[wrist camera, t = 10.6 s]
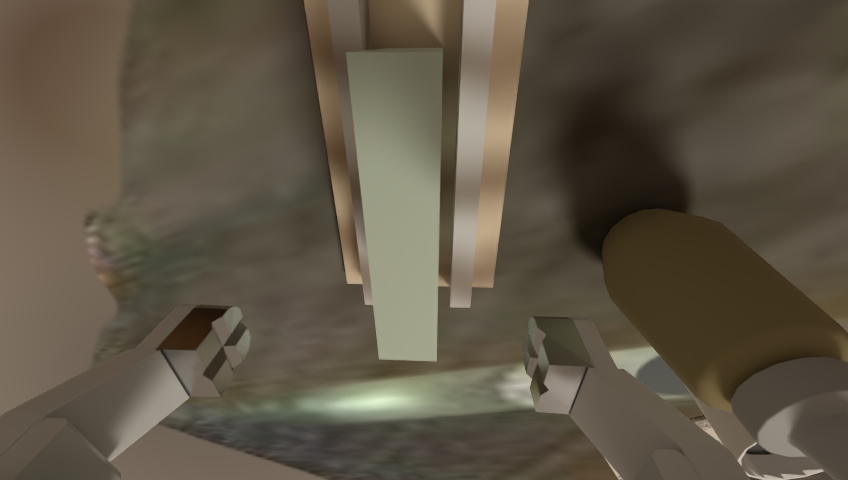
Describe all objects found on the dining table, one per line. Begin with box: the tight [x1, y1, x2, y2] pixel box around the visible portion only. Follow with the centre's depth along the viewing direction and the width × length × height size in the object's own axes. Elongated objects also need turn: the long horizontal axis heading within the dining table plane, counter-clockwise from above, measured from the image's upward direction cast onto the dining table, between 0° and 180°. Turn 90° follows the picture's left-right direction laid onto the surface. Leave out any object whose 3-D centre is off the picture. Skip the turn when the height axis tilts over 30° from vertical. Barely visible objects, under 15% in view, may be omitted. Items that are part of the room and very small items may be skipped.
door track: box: [304, 0, 529, 308], centre depth 22 cm, size 20×12×4 cm, turn 0°
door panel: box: [346, 48, 443, 361], centre depth 18 cm, size 14×3×10 cm, turn 0°
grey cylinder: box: [684, 384, 823, 480], centre depth 26 cm, size 7×7×10 cm
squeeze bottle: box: [601, 208, 848, 480], centre depth 18 cm, size 8×8×18 cm
